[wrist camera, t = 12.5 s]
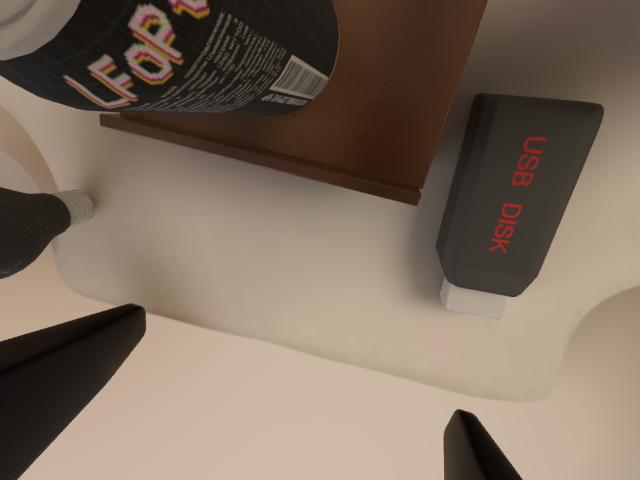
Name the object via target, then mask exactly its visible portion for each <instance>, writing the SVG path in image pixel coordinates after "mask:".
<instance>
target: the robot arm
mask: <svg viewBox="0 0 640 480" xmlns="http://www.w3.org/2000/svg"><path fill="white" fill-rule="evenodd" d="M145 331H146V312H145V309H144V307H142V306H139V305H136V304H132V303H130V304H126V305H122V306H119V307H115V308H112V309H109V310H106V311H102V312H99V313H95V314H92V315H89V316H85V317H82V318H78V319H75V320H72V321H68V322H65V323H62V324H58V325H55V326H52V327H48V328H45V329H41V330H38V331H35V332H31V333H28V334H24V335H21V336H18V337H14V338H11V339H8V340H4V341H1V342H0V480H17V479H18V478H19V477H20V476H21V475H22V474H23V473H24V472H25V471H26V470H27V469H28V468H29V466H30V465H31V464H32V463H33V462H34V461H35V460H36V459H37V458H38V457H39V456H40V455H41V454H42V453H43V451H44V450H45V449H46V448H47V447H48V446H49V445H50V444H51V443H52V442H53V441H54V440H55V439H56V438H57V436H58V435H59V434H60V433H61V432H62V431H63V430H64V429H65V428H66V427H67V426H68V425H69V423H70V422H71V421H72V420H73V419H74V418H75V417H76V416H77V415H78V414H79V413H80V412H81V411H82V409H83V408H84V407H85V406H86V405H87V404H88V403H89V402H90V401H91V400H92V399H93V398H94V397H95V396H96V395H97V393H98V392H99V391H100V390H101V389H102V388H103V387H104V386H105V385H106V383H107V382H108V381H109V380H110V379H111V377H112V376H113V375H114V374H115V372H116V371H117V370H118V368H119V367H120V366H121V365H122V363H123V362H124V360H125V359H126V358H127V357H128V356H129V354H130V353H131V352H132V351H133V349H134V348H135V347H136V345H137V344H138V343H139V342H140V340H141V339H142V338H143V336H144V334H145ZM444 480H522V478H521V477H520V475H519V474H518V473H517V471H516V470H515V468H514V467H513V466H512V464H511V463H510V462H509V460H508V459H507V458H506V456H505V455H504V454H503V452H502V451H501V450H500V448H499V447H498V445H497V444H496V443H495V441H494V440H493V439H492V437H491V436H490V435H489V433H488V432H487V431H486V429H485V428H484V426H483V425H482V424H481V422H480V421H479V420H478V418H477V417H476V416H475V415H474V414H473V413H470V412H467V411H464V410H460V409H457V410H456V411H455V412H454V414H453V416H452V417H451V419H450V421H449V423H448V425H447V427H446V428H445V431H444Z"/></svg>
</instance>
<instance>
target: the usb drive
mask: <svg viewBox="0 0 640 480" xmlns="http://www.w3.org/2000/svg"><path fill="white" fill-rule="evenodd" d="M603 114H604V109H603V107H602V106H601V105H600V104H597V103H590V102H580V101H569V100H557V99H546V98H534V97H523V96H511V95H500V94H485V93H480V94H477V95H476V96H475V98H474V102H473V105H472V109H471V113H470V116H469V120H468V124H467V128H466V132H465V135H464V139H463V143H462V147H461V151H460V155H459V158H458V162H457V166H456V170H455V174H454V178H453V181H452V185H451V189H450V193H449V197H448V201H447V204H446V208H445V212H444V216H443V220H442V224H441V227H440V231H439V235H438V239H437V243H436V249H437V252H438V256H439V259H440V263H441V266H442V269H443V271H444V274H445V277H444V280H443V284H442V287H441V291H440V294H439V295H440V298H441V302H442V305H443V308H444V309H446V310H451V311H457V312H462V313H467V314H472V315H477V316H482V317H487V318H493V319H498V320H500V319H501V316H502V314H503V311H504V308H505V306H506V303H507V301H508V298H509V297H516V296H518V295H520V294H521V293H522V292H523V291H524V290H525V289H526V288H527V287H528V286H529V285H530V284H531V283H532V282H533V280H534V279H535V278H536V277H537V276H538V274H539V272H540V269H541V267H542V265H543V262H544V260H545V257H546V255H547V252H548V250H549V248H550V245H551V243H552V240H553V238H554V236H555V233H556V231H557V228H558V226H559V224H560V221H561V219H562V216H563V214H564V212H565V209H566V207H567V204H568V202H569V200H570V197H571V195H572V192H573V190H574V188H575V185H576V183H577V180H578V178H579V176H580V173H581V171H582V168H583V166H584V163H585V161H586V159H587V156H588V154H589V151H590V149H591V147H592V144H593V142H594V139H595V137H596V135H597V132H598V129H599V127H600V124H601V122H602V118H603Z"/></svg>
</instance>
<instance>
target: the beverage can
mask: <svg viewBox="0 0 640 480" xmlns="http://www.w3.org/2000/svg"><path fill="white" fill-rule="evenodd" d="M338 50H339V27H338V18H337V15H336V11H335V7H334V4H333V1H332V0H0V75H1V76H3V77H4V78H6V79H7V80H9V81H10V82H12V83H14V84H16V85H18V86H19V87H21V88H23V89H25V90H27V91H29V92H31V93H33V94H35V95H36V96H38V97H41V98H44V99H47V100H50V101H53V102H56V103H60V104H63V105H66V106H70V107H73V108H76V109H81V110H88V111H105V112H137V113H188V114H238V115H283V114H289V113H292V112H295V111H297V110H300V109H302V108H303V107H305V106H306V105H308V104H309V103H311V102H312V101H313V100H314V99H315V98H316V97H317V96H318V95H319V94H320V93H321V92H322V90H323V89H324V87H325V86H326V84H327V83H328V81H329V79H330V77H331V75H332V72H333V70H334V68H335V64H336V60H337V56H338Z"/></svg>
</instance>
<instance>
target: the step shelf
mask: <svg viewBox="0 0 640 480" xmlns="http://www.w3.org/2000/svg"><path fill="white" fill-rule="evenodd" d="M332 1H333V4H334V7H335V11H336V15H337V18H338V27H339V50H338V56H337V60H336V64H335V68H334V70H333V72H332V75H331V77H330V79H329V81H328V83H327V84H326V86H325V87H324V89H323V90H322V92H321V93H320V94H319V95H318V96H317V97H316V98H315V99H314V100H313V101H312V102H311V103H309V104H308V105H306V106H305V107H303V108H302V109H300V110H297V111H295V112H292V113H289V114H283V115H238V114H188V113H137V112H120V114H100V125H101V126H103V127H107V128H111V129H115V130H118V131H122V132H126V133H130V134H134V135H138V136H142V137H146V138H150V139H154V140H158V141H162V142H166V143H170V144H174V145H178V146H181V147H185V148H189V149H193V150H197V151H201V152H205V153H209V154H213V155H217V156H221V157H225V158H229V159H233V160H237V161H241V162H244V163H248V164H252V165H256V166H260V167H264V168H268V169H272V170H276V171H280V172H284V173H288V174H292V175H296V176H300V177H304V178H307V179H311V180H315V181H319V182H323V183H327V184H331V185H335V186H339V187H343V188H347V189H351V190H355V191H359V192H363V193H367V194H370V195H374V196H378V197H382V198H386V199H390V200H394V201H398V202H402V203H406V204H410V205H414V206H417V205H418V203H419V200H420V197H421V192H420V190H419V189H423V186H424V183H425V180H426V178H427V175H428V172H429V169H430V166H431V163H432V160H433V157H434V154H435V151H436V149H437V146H438V143H439V140H440V137H441V134H442V131H443V128H444V125H445V123H446V120H447V117H448V114H449V111H450V108H451V105H452V102H453V99H454V96H455V94H456V91H457V88H458V85H459V82H460V79H461V76H462V73H463V70H464V67H465V65H466V62H467V59H468V56H469V53H470V50H471V47H472V44H473V41H474V38H475V36H476V33H477V30H478V27H479V24H480V21H481V18H482V15H483V12H484V9H485V7H486V4H487V1H488V0H332Z"/></svg>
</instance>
